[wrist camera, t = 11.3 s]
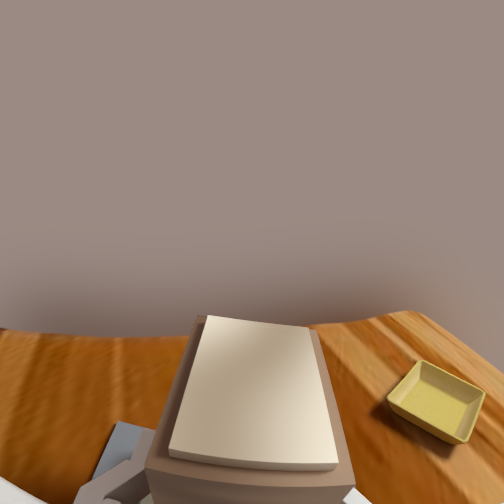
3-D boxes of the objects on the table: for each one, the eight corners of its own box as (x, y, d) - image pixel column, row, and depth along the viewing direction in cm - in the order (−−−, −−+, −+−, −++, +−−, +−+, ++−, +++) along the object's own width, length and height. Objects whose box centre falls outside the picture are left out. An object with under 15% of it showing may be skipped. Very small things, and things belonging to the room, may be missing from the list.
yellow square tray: (454, 459, 16) (467, 443, 16) (376, 414, 22) (385, 397, 22) (476, 407, 22) (486, 391, 21) (413, 373, 28) (420, 357, 27)
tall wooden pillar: (264, 486, 14) (318, 322, 10) (263, 576, 8) (361, 476, 4) (192, 478, 13) (197, 307, 10) (176, 567, 8) (142, 458, 4)
